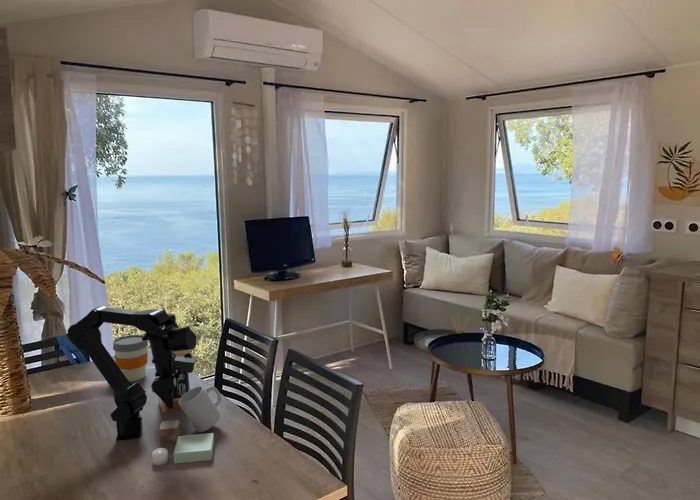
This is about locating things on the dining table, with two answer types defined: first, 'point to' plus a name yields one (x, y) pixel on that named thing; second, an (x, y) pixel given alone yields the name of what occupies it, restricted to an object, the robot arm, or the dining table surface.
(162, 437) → the walnut cube
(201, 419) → the mug
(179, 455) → the base slab
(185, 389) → the whiskey bottle
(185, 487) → the dining table surface
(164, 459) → the cream tealight
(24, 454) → the dining table surface
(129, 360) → the reusable coffee cup
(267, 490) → the dining table surface
